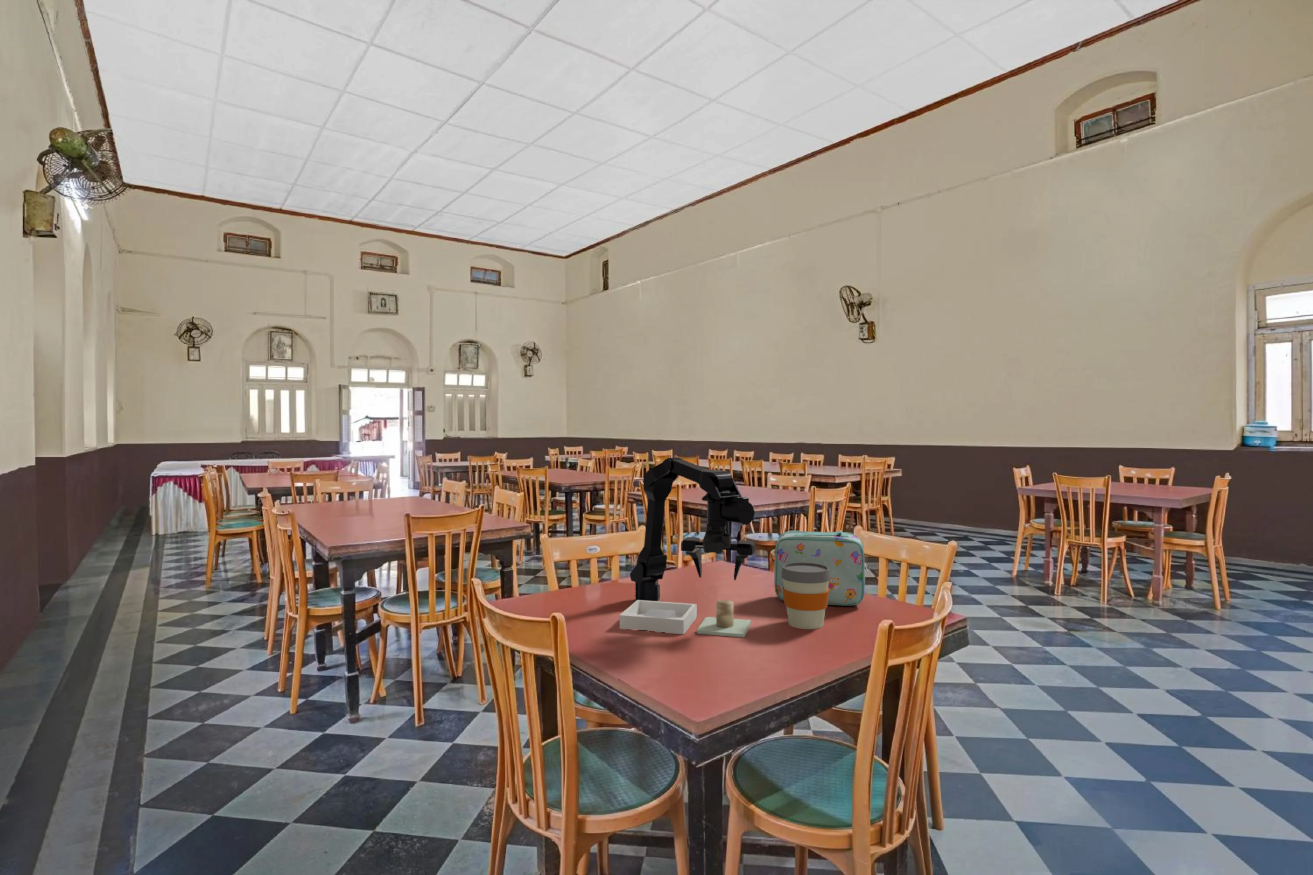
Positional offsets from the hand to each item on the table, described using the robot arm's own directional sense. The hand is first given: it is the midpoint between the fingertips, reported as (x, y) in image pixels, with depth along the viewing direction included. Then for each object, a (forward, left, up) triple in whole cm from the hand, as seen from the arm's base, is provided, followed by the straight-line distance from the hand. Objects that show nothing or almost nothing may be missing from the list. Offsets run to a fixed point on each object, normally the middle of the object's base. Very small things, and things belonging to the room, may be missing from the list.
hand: (717, 578), depth 173 cm
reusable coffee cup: (+22, +7, -13) cm, 26 cm away
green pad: (+2, -2, -12) cm, 13 cm away
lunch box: (+25, +30, -13) cm, 41 cm away
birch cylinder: (+2, -2, -11) cm, 12 cm away
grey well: (-15, -2, -12) cm, 20 cm away
